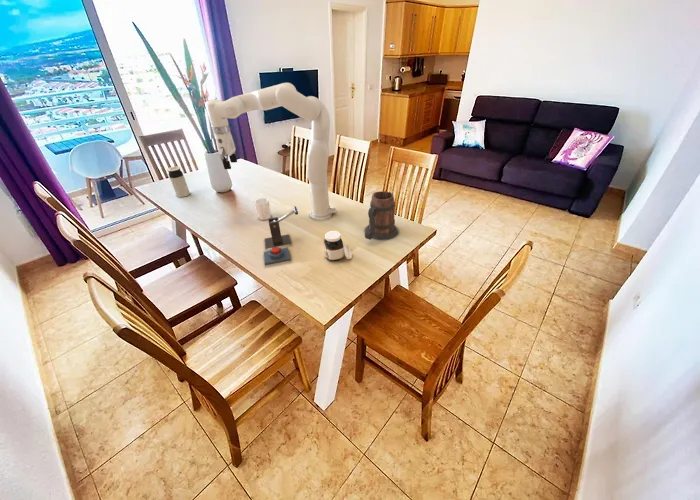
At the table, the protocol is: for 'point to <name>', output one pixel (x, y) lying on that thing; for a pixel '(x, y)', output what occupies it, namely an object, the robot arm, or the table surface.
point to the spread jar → (335, 246)
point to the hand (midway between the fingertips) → (231, 165)
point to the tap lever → (287, 215)
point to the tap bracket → (276, 235)
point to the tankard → (381, 217)
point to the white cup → (262, 208)
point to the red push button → (275, 250)
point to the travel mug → (178, 181)
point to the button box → (276, 256)
